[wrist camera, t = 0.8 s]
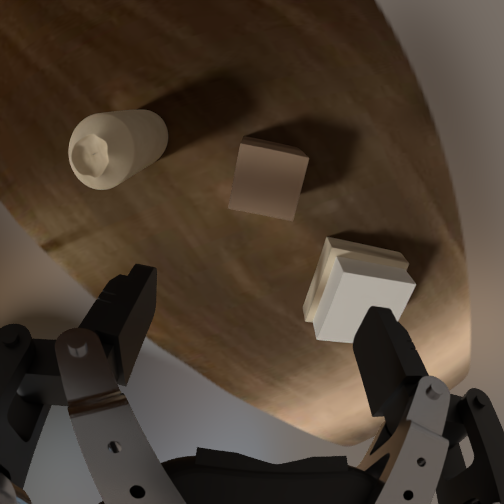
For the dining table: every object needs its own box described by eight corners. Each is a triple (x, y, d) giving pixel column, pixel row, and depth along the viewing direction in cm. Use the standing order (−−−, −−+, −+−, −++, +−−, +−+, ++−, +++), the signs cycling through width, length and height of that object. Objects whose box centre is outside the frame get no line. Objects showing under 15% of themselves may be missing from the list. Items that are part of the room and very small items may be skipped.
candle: (158, 100, 24) (109, 99, 15) (177, 153, 27) (138, 178, 18) (108, 123, 25) (47, 137, 16) (127, 173, 27) (75, 207, 18)
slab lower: (325, 234, 31) (331, 247, 28) (398, 250, 31) (409, 263, 29) (302, 304, 35) (305, 321, 32) (370, 314, 35) (377, 329, 33)
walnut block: (243, 136, 26) (240, 143, 20) (298, 147, 26) (309, 158, 21) (233, 187, 28) (228, 208, 23) (286, 198, 28) (292, 221, 23)
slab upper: (336, 256, 28) (343, 272, 26) (404, 268, 29) (416, 284, 26) (312, 320, 32) (316, 339, 29) (376, 327, 32) (384, 345, 30)
